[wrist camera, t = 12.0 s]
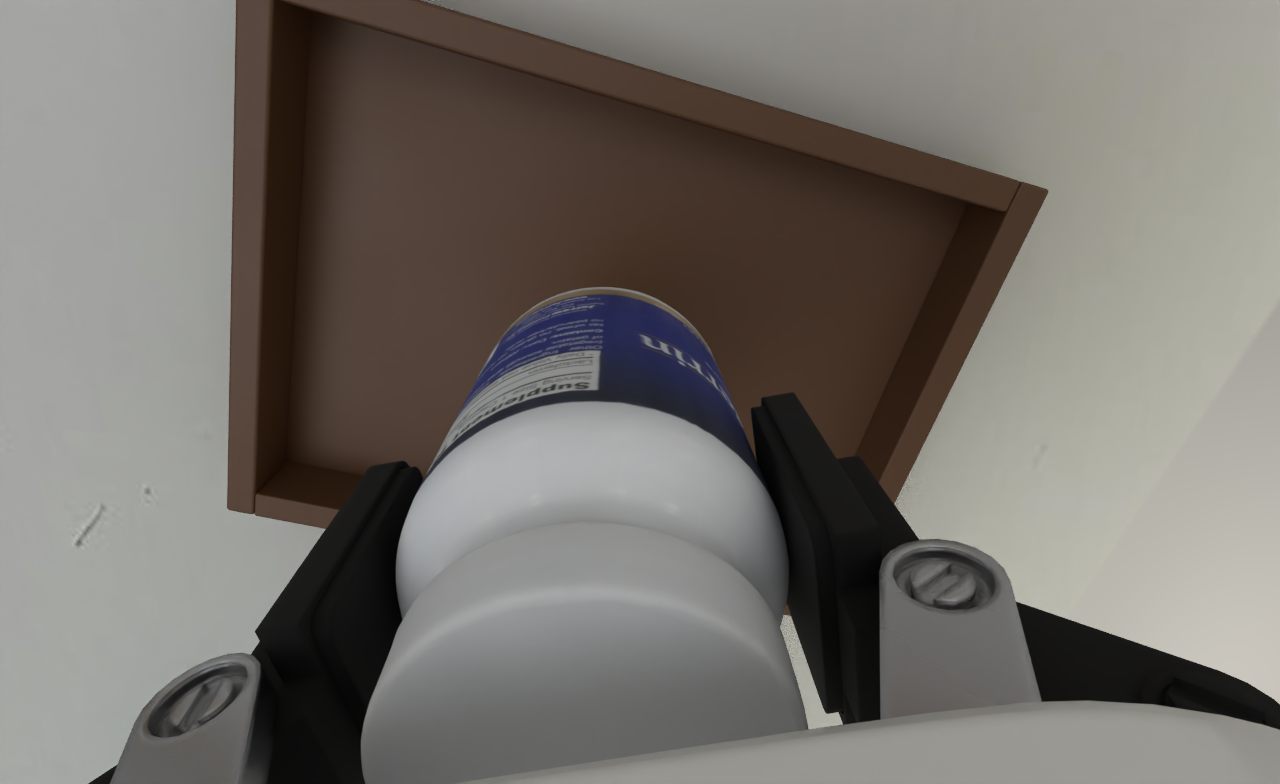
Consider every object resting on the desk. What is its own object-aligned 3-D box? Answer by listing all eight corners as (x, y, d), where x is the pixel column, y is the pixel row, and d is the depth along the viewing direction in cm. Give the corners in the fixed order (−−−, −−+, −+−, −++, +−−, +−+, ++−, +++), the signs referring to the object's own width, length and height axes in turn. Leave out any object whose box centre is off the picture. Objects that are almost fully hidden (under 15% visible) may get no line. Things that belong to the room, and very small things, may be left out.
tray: (267, 467, 21) (225, 510, 19) (289, -32, 16) (234, -56, 14) (814, 576, 24) (835, 624, 22) (996, 180, 18) (1050, 190, 16)
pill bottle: (758, 430, 16) (940, 836, 7) (567, 527, 17) (512, 993, 8) (647, 232, 14) (705, 445, 5) (437, 354, 15) (166, 720, 6)
